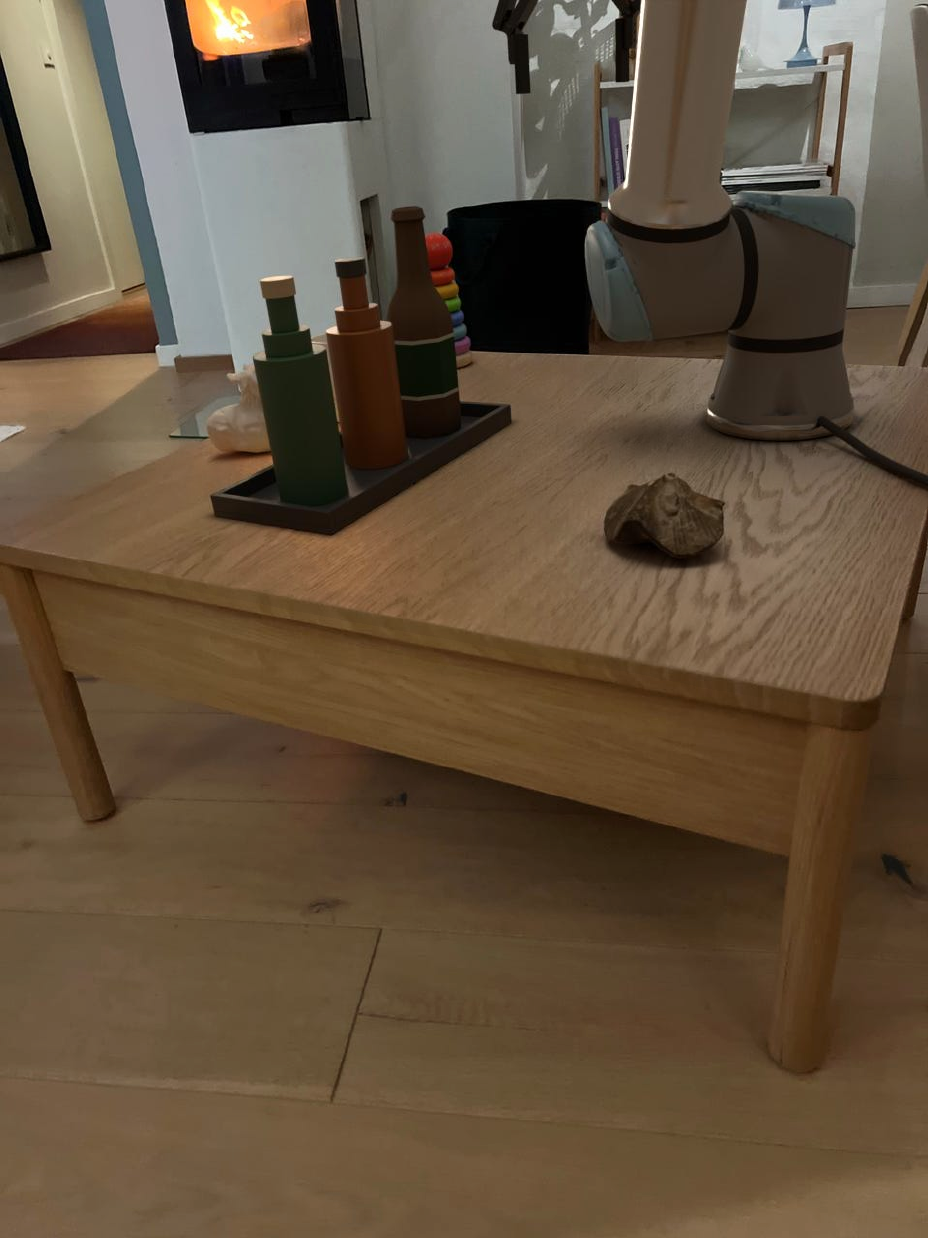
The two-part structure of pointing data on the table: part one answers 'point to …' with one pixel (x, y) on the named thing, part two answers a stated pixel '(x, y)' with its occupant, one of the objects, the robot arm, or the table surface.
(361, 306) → the bottle mid
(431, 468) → the tray
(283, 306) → the bottle far
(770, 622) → the table surface
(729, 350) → the robot arm
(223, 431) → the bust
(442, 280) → the stacking toy
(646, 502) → the fossilized seashell
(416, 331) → the beer bottle
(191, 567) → the table surface
